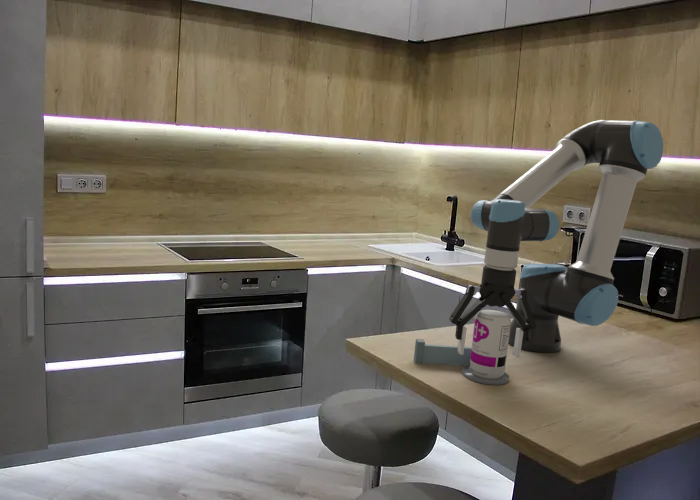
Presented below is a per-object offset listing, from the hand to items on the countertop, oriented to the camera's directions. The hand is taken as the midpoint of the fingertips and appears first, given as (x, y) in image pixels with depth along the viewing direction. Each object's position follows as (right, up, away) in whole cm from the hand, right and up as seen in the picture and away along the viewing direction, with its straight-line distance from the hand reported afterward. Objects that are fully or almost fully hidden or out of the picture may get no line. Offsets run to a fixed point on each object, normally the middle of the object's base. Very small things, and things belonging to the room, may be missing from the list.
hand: (488, 354), depth 152 cm
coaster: (-1, -5, +1) cm, 5 cm away
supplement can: (0, -5, +1) cm, 5 cm away
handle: (-7, -4, +7) cm, 11 cm away
